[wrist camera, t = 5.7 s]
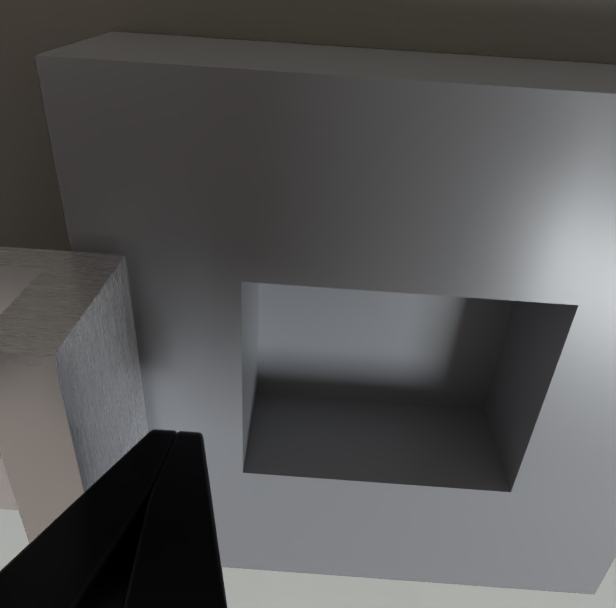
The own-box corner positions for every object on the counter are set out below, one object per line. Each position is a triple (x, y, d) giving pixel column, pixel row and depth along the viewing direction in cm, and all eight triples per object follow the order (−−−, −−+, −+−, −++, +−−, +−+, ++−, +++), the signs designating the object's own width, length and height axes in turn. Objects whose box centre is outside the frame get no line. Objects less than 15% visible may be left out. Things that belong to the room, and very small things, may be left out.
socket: (728, 71, 10) (863, 110, 7) (552, 491, 16) (594, 594, 13) (111, 31, 10) (34, 55, 7) (161, 463, 16) (126, 560, 13)
